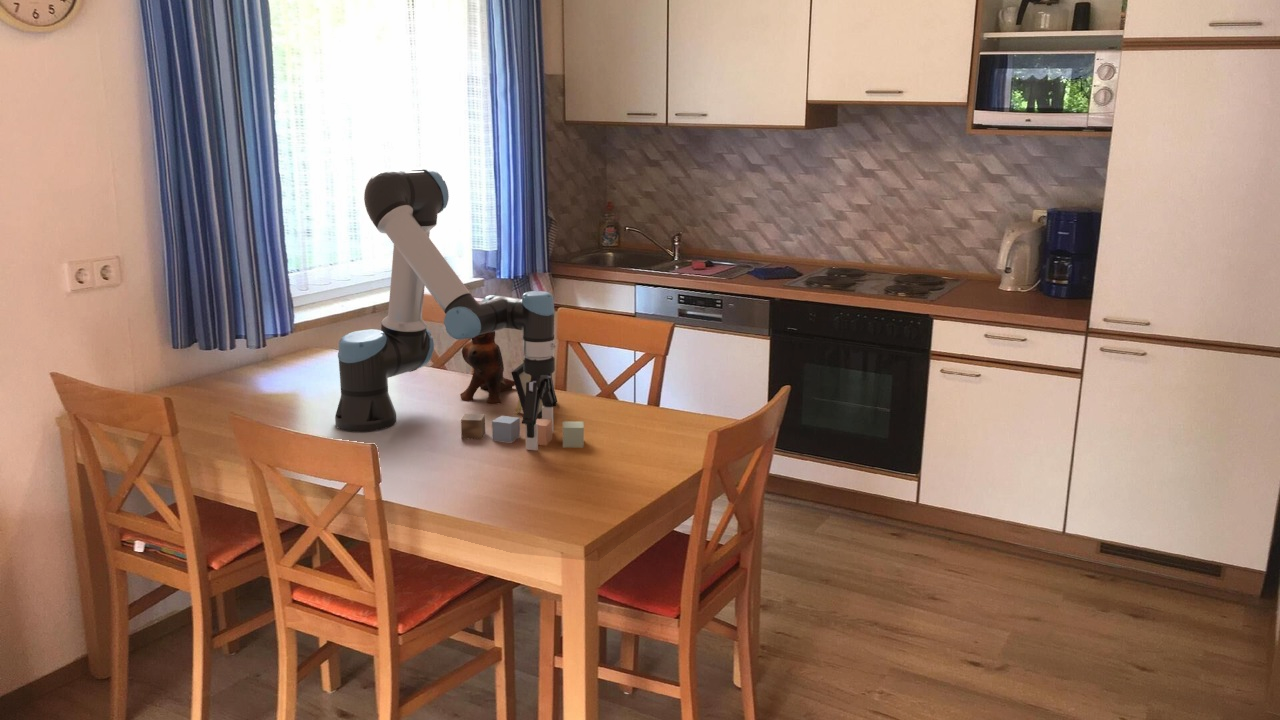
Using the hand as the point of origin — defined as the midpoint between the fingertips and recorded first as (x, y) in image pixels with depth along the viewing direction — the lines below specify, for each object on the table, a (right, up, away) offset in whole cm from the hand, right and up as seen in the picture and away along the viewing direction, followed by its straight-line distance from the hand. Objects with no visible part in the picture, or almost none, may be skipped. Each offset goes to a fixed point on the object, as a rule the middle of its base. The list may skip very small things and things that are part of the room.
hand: (540, 440), depth 244 cm
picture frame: (-5, +5, +22) cm, 23 cm away
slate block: (-8, 0, +2) cm, 9 cm away
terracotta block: (0, 0, 0) cm, 0 cm away
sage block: (+8, -1, -1) cm, 8 cm away
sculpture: (-19, +10, +39) cm, 45 cm away
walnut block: (-17, +1, +3) cm, 17 cm away
